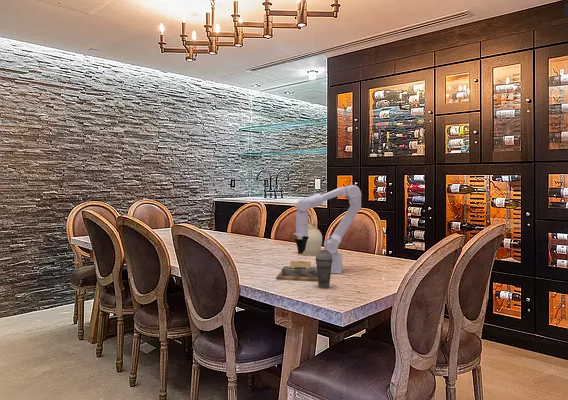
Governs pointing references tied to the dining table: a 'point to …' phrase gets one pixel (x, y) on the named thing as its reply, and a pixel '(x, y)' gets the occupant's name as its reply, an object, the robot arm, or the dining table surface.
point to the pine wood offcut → (300, 264)
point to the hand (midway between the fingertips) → (301, 252)
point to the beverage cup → (324, 267)
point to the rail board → (298, 274)
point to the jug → (313, 238)
